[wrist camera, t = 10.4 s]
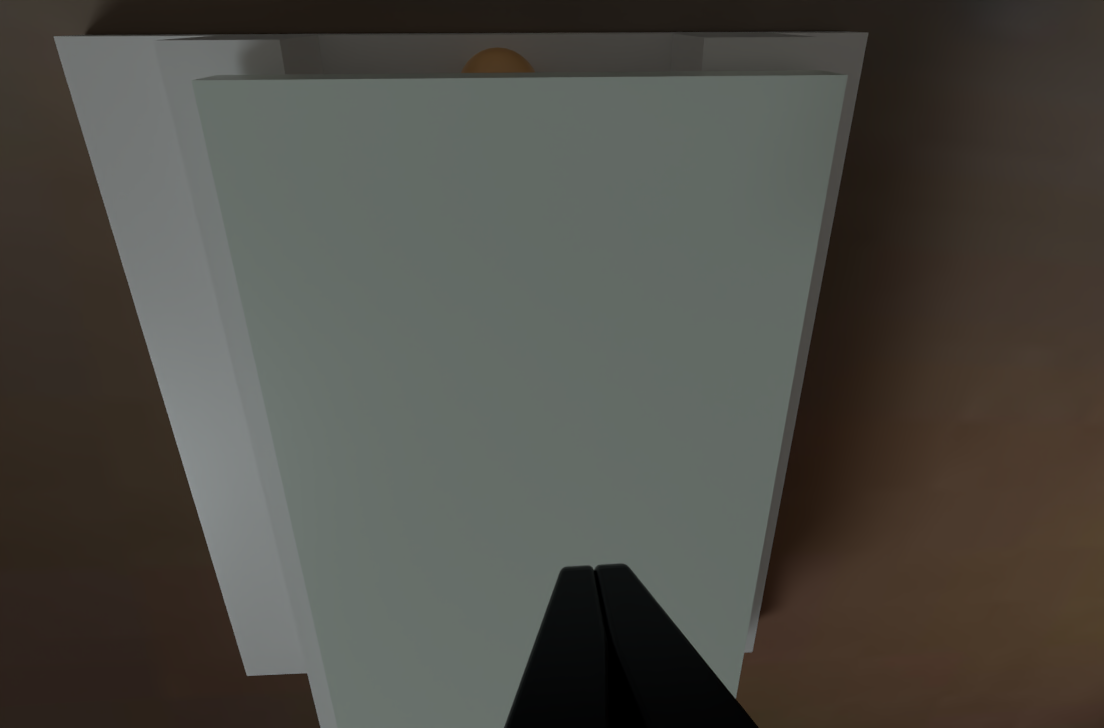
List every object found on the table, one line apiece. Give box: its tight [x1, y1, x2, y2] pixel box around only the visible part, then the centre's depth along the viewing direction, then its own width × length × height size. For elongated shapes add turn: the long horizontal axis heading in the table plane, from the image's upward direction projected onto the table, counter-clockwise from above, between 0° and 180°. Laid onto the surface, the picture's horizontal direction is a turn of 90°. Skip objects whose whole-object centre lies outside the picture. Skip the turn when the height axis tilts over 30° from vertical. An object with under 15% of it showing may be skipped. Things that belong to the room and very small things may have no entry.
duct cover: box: [191, 70, 848, 728], centre depth 15 cm, size 10×17×1 cm, turn 0°
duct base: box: [54, 31, 868, 728], centre depth 17 cm, size 16×18×4 cm
